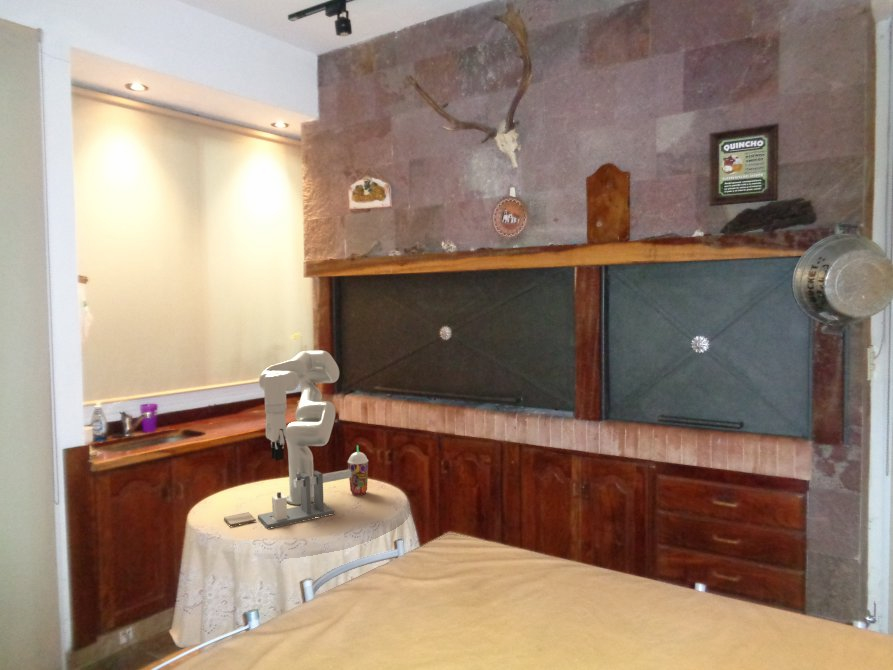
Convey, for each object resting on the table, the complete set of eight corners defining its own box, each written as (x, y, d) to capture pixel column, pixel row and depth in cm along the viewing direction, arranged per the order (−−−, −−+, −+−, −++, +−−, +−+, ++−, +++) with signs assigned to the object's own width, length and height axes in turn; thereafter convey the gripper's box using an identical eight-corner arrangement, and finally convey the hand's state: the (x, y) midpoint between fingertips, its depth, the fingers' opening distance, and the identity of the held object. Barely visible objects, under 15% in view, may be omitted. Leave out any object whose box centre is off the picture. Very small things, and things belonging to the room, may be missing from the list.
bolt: (293, 486, 238) (293, 472, 238) (348, 475, 250) (348, 463, 250) (296, 487, 236) (295, 474, 236) (351, 477, 248) (351, 464, 248)
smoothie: (360, 497, 259) (358, 448, 258) (344, 494, 263) (342, 446, 262) (373, 492, 266) (372, 444, 265) (357, 489, 271) (356, 442, 269)
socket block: (257, 518, 237) (256, 477, 236) (322, 505, 251) (320, 466, 250) (267, 528, 227) (266, 486, 226) (334, 514, 241) (333, 473, 240)
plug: (271, 520, 236) (270, 492, 235) (284, 517, 238) (283, 489, 237) (275, 524, 231) (274, 496, 231) (289, 521, 234) (288, 493, 233)
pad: (224, 519, 237) (224, 517, 237) (248, 514, 242) (248, 512, 242) (230, 527, 230) (230, 524, 230) (255, 521, 235) (255, 519, 234)
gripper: (258, 406, 237) (260, 455, 238) (272, 413, 223) (274, 465, 224) (278, 404, 241) (280, 452, 242) (293, 410, 227) (295, 461, 228)
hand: (277, 458), depth 233 cm, fingers open, 2 cm apart
